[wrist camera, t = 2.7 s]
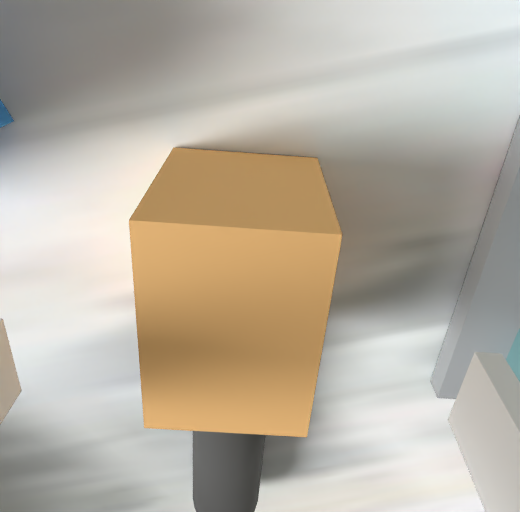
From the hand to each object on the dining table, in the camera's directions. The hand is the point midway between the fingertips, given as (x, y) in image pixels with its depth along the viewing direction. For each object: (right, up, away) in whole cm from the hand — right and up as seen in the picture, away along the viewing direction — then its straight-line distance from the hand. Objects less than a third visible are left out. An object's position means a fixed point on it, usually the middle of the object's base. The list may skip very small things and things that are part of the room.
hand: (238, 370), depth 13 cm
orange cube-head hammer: (0, -1, +7) cm, 7 cm away
